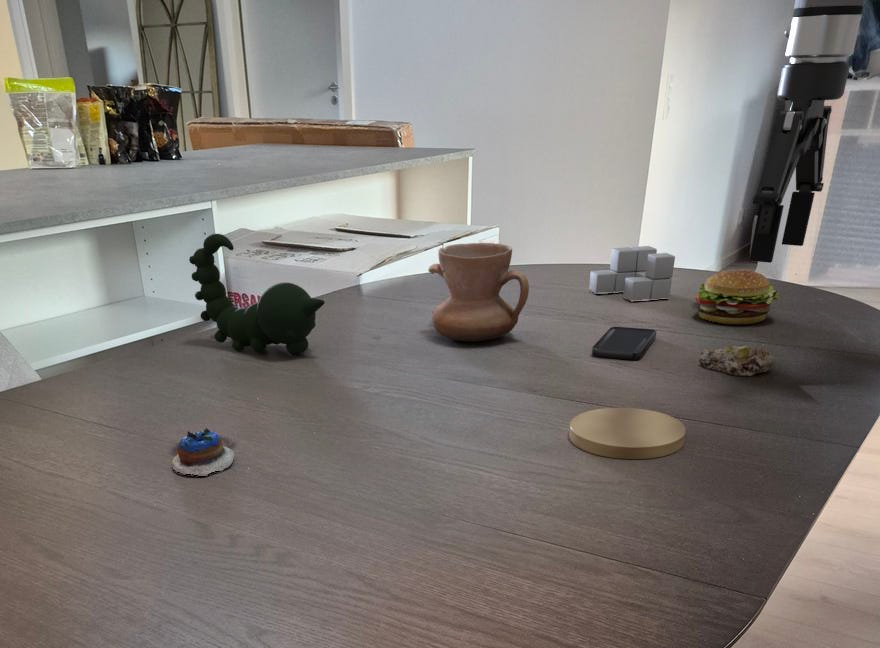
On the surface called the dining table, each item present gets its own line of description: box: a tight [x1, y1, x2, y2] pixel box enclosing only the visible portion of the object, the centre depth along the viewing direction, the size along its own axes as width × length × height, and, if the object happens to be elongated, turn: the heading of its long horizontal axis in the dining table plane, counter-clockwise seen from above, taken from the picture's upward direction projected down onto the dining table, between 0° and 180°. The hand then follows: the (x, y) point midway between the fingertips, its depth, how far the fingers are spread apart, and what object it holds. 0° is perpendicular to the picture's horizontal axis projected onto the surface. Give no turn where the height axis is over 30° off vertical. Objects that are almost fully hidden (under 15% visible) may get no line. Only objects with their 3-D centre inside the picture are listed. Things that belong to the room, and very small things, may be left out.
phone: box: [591, 326, 657, 361], centre depth 139 cm, size 8×1×15 cm
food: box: [695, 269, 780, 326], centre depth 150 cm, size 14×14×8 cm
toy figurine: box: [188, 233, 326, 356], centre depth 139 cm, size 9×19×25 cm
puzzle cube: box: [588, 245, 676, 300], centre depth 167 cm, size 12×12×8 cm
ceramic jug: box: [427, 242, 530, 343], centre depth 143 cm, size 18×14×14 cm
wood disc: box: [568, 407, 687, 460], centre depth 105 cm, size 14×14×2 cm
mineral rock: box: [698, 344, 775, 377], centre depth 127 cm, size 11×4×8 cm
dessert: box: [171, 427, 235, 476], centre depth 102 cm, size 8×7×6 cm
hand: (776, 253), depth 113 cm, fingers open, 13 cm apart
